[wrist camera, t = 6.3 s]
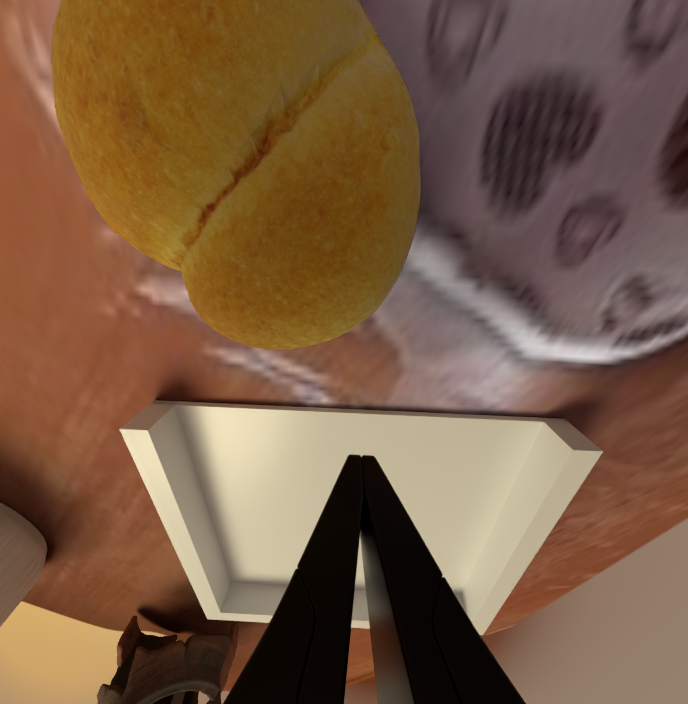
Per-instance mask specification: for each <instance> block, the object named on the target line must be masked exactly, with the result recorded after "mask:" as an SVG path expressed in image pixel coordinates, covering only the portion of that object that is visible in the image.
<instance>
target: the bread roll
mask: <svg viewBox="0 0 688 704" xmlns="http://www.w3.org/2000/svg"><path fill="white" fill-rule="evenodd" d="M51 64H52V71H53V85H54V98H55V108H56V114H57V120H58V122H59V125H60V128H61V131H62V134H63V137H64V140H65V143H66V146H67V149H68V152H69V154H70V157H71V160H72V162H73V164H74V166H75V168H76V170H77V173H78V175H79V178H80V180H81V182H82V184H83V186H84V189H85V191H86V193H87V195H88V197H89V198H90V200H91V201H92V203H93V204H94V206H95V207H96V209H97V210H98V212H99V213H100V215H101V216H102V217H103V219H104V220H105V222H106V223H107V224H108V225H109V226H110V227H111V228H112V229H113V230H114V231H115V232H116V233H117V234H118V235H119V236H121V237H122V238H123V239H125V240H126V241H127V242H128V243H130V244H131V245H132V246H133V247H135V248H136V249H138V250H139V251H141V252H143V253H144V254H146V255H148V256H149V257H151V258H152V259H154V260H156V261H157V262H159V263H161V264H163V265H165V266H167V267H170V268H173V269H176V270H179V271H181V272H182V277H183V280H184V283H185V286H186V289H187V291H188V294H189V298H190V301H191V303H192V305H193V306H194V308H195V310H196V311H197V313H198V314H199V315H200V317H201V318H202V319H203V320H204V321H205V322H206V323H207V324H208V325H209V326H210V327H212V328H213V329H215V330H216V331H217V332H219V333H220V334H222V335H224V336H225V337H227V338H229V339H232V340H234V341H237V342H239V343H242V344H245V345H248V346H252V347H257V348H261V349H266V350H287V349H294V348H301V347H306V346H311V345H315V344H319V343H323V342H326V341H329V340H332V339H334V338H336V337H338V336H340V335H342V334H344V333H346V332H348V331H350V330H352V329H353V328H354V327H356V326H357V325H359V324H360V323H361V322H363V321H364V320H366V319H367V318H368V317H369V316H370V315H371V314H373V313H374V312H375V311H376V310H377V309H378V307H379V306H380V305H381V303H382V302H383V301H384V299H385V298H386V296H387V295H388V293H389V292H390V290H391V289H392V287H393V285H394V283H395V282H396V280H397V278H398V276H399V274H400V272H401V270H402V268H403V265H404V263H405V260H406V258H407V255H408V252H409V249H410V246H411V243H412V240H413V236H414V232H415V227H416V223H417V217H418V211H419V205H420V195H421V180H420V157H419V154H420V135H419V129H418V125H417V121H416V116H415V112H414V108H413V104H412V101H411V98H410V95H409V92H408V89H407V87H406V85H405V83H404V81H403V79H402V77H401V75H400V73H399V71H398V69H397V67H396V65H395V63H394V61H393V59H392V57H391V56H390V54H389V53H388V51H387V50H386V48H385V47H384V45H383V44H382V42H381V41H380V39H379V37H378V35H377V34H376V32H375V30H374V28H373V26H372V24H371V22H370V21H369V19H368V17H367V15H366V13H365V11H364V10H363V8H362V6H361V4H360V3H359V1H358V0H61V3H60V6H59V10H58V13H57V17H56V20H55V23H54V27H53V41H52V55H51Z"/></svg>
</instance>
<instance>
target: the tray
mask: <svg viewBox="0 0 688 704" xmlns="http://www.w3.org/2000/svg"><path fill="white" fill-rule="evenodd" d="M120 432H121V434H122V436H123V438H124V440H125V442H126V445H127V447H128V449H129V451H130V453H131V455H132V457H133V460H134V462H135V464H136V466H137V468H138V470H139V473H140V475H141V477H142V479H143V481H144V483H145V486H146V488H147V490H148V492H149V494H150V496H151V499H152V501H153V503H154V505H155V507H156V509H157V512H158V514H159V516H160V518H161V520H162V522H163V525H164V527H165V529H166V531H167V533H168V535H169V538H170V540H171V542H172V544H173V546H174V548H175V550H176V553H177V555H178V557H179V559H180V561H181V563H182V566H183V568H184V570H185V572H186V574H187V576H188V579H189V581H190V583H191V585H192V587H193V589H194V592H195V594H196V596H197V598H198V600H199V602H200V605H201V607H202V609H203V611H204V613H205V615H206V618H207V619H212V620H230V621H247V622H265V623H269V622H270V620H271V619H272V617H273V615H274V613H275V611H276V609H277V607H278V605H279V603H280V601H281V599H282V596H283V594H284V592H285V590H286V588H287V586H288V584H289V582H290V580H291V578H292V575H293V573H294V571H295V569H297V565H298V563H299V561H300V558H301V556H302V554H303V552H304V550H305V548H306V545H307V543H308V541H309V539H310V537H311V535H312V532H313V530H314V528H315V526H316V524H317V522H318V519H319V517H320V515H321V513H322V511H323V509H324V506H325V504H326V502H327V500H328V498H329V495H330V493H331V491H332V489H333V487H334V485H335V482H336V480H337V478H338V476H339V474H340V472H341V469H342V467H343V465H344V463H345V461H346V459H347V456H348V455H349V454H355V455H360V456H361V457H362V456H363V455H373V456H375V458H376V459H377V461H378V463H379V464H380V466H381V468H382V469H383V471H384V473H385V475H386V476H387V478H388V480H389V482H390V483H391V485H392V487H393V489H394V490H395V492H396V494H397V495H398V497H399V499H400V501H401V502H402V504H403V506H404V508H405V509H406V511H407V513H408V514H409V516H410V518H411V520H412V521H413V523H414V525H415V527H416V528H417V530H418V532H419V534H420V535H421V537H422V539H423V540H424V542H425V544H426V546H427V547H428V549H429V551H430V553H431V554H432V556H433V558H434V559H435V561H436V563H437V565H438V566H439V568H440V570H441V572H442V574H443V576H442V577H445V578H446V580H447V582H448V583H449V585H450V587H451V589H452V590H453V592H454V594H455V596H456V597H457V599H458V601H459V602H460V604H461V606H462V607H463V609H464V610H465V612H466V614H467V615H468V617H469V619H470V620H471V622H472V624H473V625H474V627H475V629H476V630H477V632H478V633H479V635H483V634H484V632H485V631H486V629H487V628H488V626H489V625H490V623H491V622H492V620H493V619H494V617H495V616H496V614H497V613H498V611H499V610H500V608H501V606H502V605H503V603H504V602H505V600H506V599H507V597H508V596H509V594H510V593H511V591H512V590H513V588H514V587H515V585H516V584H517V582H518V581H519V579H520V577H521V576H522V574H523V573H524V571H525V570H526V568H527V567H528V565H529V564H530V562H531V561H532V559H533V558H534V556H535V555H536V553H537V552H538V550H539V549H540V547H541V545H542V544H543V542H544V541H545V539H546V538H547V536H548V535H549V533H550V532H551V530H552V529H553V527H554V526H555V524H556V523H557V521H558V520H559V518H560V516H561V515H562V513H563V512H564V510H565V509H566V507H567V506H568V504H569V503H570V501H571V500H572V498H573V497H574V495H575V494H576V492H577V491H578V489H579V488H580V486H581V484H582V483H583V481H584V480H585V478H586V477H587V475H588V474H589V472H590V471H591V469H592V468H593V466H594V465H595V463H596V462H597V460H598V459H599V457H600V456H601V454H602V452H603V451H602V450H601V449H599V448H598V447H597V446H596V445H595V444H594V443H592V442H591V441H590V440H589V439H588V438H587V437H585V436H584V435H583V434H582V433H581V432H579V431H578V430H577V429H576V428H575V427H574V426H572V425H571V424H570V423H569V422H568V421H567V420H565V419H559V418H537V417H514V416H492V415H470V414H448V413H425V412H403V411H381V410H359V409H336V408H314V407H292V406H270V405H247V404H225V403H203V402H181V401H158V400H154V401H153V402H152V403H150V404H149V405H148V406H147V407H146V408H144V409H143V410H142V411H141V412H139V413H138V414H137V415H136V416H135V417H133V418H132V419H131V420H130V421H129V422H127V423H126V424H125V425H124V426H122V427H121V428H120ZM351 627H352V628H370V625H369V615H368V606H367V597H366V587H365V578H364V569H363V559H362V550H361V540H359V550H358V560H357V571H356V581H355V591H354V602H353V612H352V623H351Z"/></svg>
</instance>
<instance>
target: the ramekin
mask: <svg viewBox="0 0 688 704" xmlns="http://www.w3.org/2000/svg"><path fill="white" fill-rule="evenodd" d="M46 554H47V544H46V541H45V539H44V537H43V536H42V534H41V533H40V532H39V531H38V529H37V528H36V527H35V526H34V525H32V524H31V523H30V522H29V521H28V520H27V519H26V518H24V517H23V516H21V515H20V514H19V513H17V512H16V511H14V510H12V509H11V508H9V507H7V506H6V505H4V504H2V503H0V627H1V626H2V624H3V623H4V622H5V621H6V619H7V618H8V617H9V615H10V614H11V613H12V612H13V611H14V609H15V608H16V607H17V605H18V604H19V603H20V602H21V601H22V599H23V598H24V597H25V596H26V594H27V593H28V592H29V590H30V589H31V588H32V587H33V585H34V584H35V582H36V581H37V579H38V578H39V576H40V575H41V573H42V570H43V568H44V565H45V558H46Z"/></svg>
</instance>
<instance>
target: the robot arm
mask: <svg viewBox="0 0 688 704" xmlns="http://www.w3.org/2000/svg"><path fill="white" fill-rule="evenodd" d="M359 540H361V550H362V559H363V569H364V578H365V587H366V597H367V606H368V615H369V625H370V634H371V643H372V653H373V662H374V671H375V679H376V690H377V699H378V704H526V703H525V702H524V700H523V699H522V697H521V696H520V694H519V693H518V692H517V690H516V688H515V687H514V686H513V684H512V683H511V681H510V680H509V678H508V677H507V675H506V674H505V672H504V671H503V669H502V668H501V667H500V665H499V664H498V662H497V661H496V659H495V657H494V656H493V654H492V653H491V651H490V650H489V649H488V647H487V645H486V644H485V642H484V641H483V639H482V638H481V636H480V635H479V633H478V632H477V630H476V629H475V627H474V625H473V624H472V622H471V620H470V619H469V617H468V615H467V614H466V612H465V610H464V609H463V607H462V606H461V604H460V602H459V601H458V599H457V597H456V596H455V594H454V592H453V590H452V589H451V587H450V585H449V583H448V582H447V580H446V578H445V577H442V576H443V574H442V572H441V570H440V568H439V566H438V565H437V563H436V561H435V559H434V558H433V556H432V554H431V553H430V551H429V549H428V547H427V546H426V544H425V542H424V540H423V539H422V537H421V535H420V534H419V532H418V530H417V528H416V527H415V525H414V523H413V521H412V520H411V518H410V516H409V514H408V513H407V511H406V509H405V508H404V506H403V504H402V502H401V501H400V499H399V497H398V495H397V494H396V492H395V490H394V489H393V487H392V485H391V483H390V482H389V480H388V478H387V476H386V475H385V473H384V471H383V469H382V468H381V466H380V464H379V463H378V461H377V459H376V458H375V456H373V455H363V456H362V457H361V456H360V455H355V454H349V455H348V456H347V459H346V461H345V463H344V465H343V467H342V469H341V472H340V474H339V476H338V478H337V480H336V482H335V485H334V487H333V489H332V491H331V493H330V495H329V498H328V500H327V502H326V504H325V506H324V509H323V511H322V513H321V515H320V517H319V519H318V522H317V524H316V526H315V528H314V530H313V532H312V535H311V537H310V539H309V541H308V543H307V545H306V548H305V550H304V552H303V554H302V556H301V558H300V561H299V563H298V565H297V569H295V571H294V573H293V575H292V578H291V580H290V582H289V584H288V586H287V588H286V590H285V592H284V594H283V596H282V599H281V601H280V603H279V605H278V607H277V609H276V611H275V613H274V615H273V617H272V619H271V620H270V622H269V624H268V626H267V628H266V629H265V631H264V633H263V635H262V637H261V639H260V640H259V642H258V644H257V646H256V648H255V650H254V651H253V653H252V655H251V656H250V658H249V660H248V662H247V663H246V665H245V667H244V669H243V670H242V672H241V674H240V675H239V677H238V679H237V681H236V682H235V684H234V686H233V688H232V689H231V691H230V693H229V694H228V696H227V698H226V700H225V701H224V703H223V704H344V695H345V685H346V675H347V664H348V654H349V643H350V633H351V623H352V612H353V602H354V591H355V581H356V571H357V560H358V550H359Z"/></svg>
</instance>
